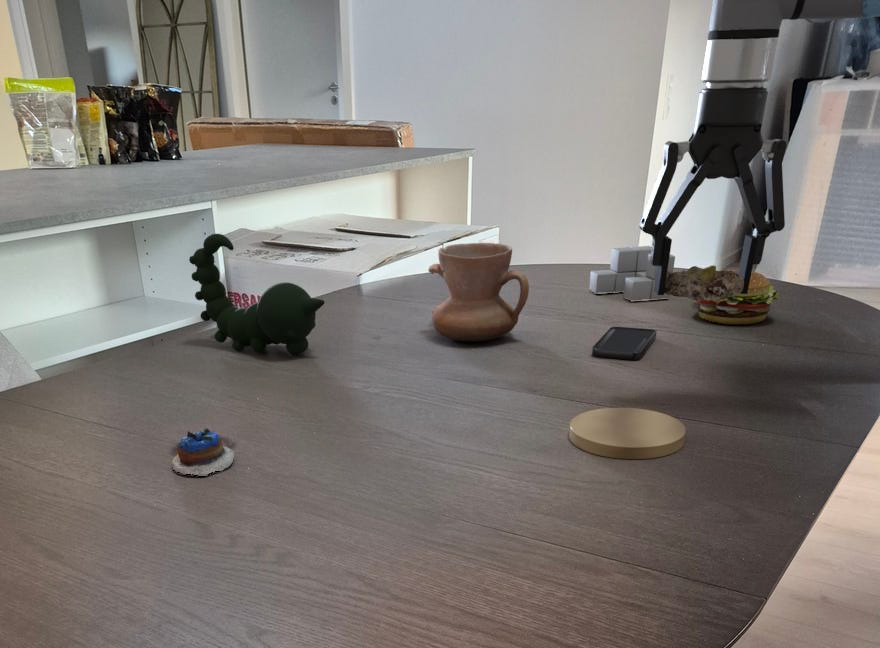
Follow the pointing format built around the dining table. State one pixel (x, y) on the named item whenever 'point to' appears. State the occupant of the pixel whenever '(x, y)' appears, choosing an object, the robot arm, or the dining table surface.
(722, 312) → the food
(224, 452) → the dessert
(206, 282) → the toy figurine
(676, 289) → the mineral rock
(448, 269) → the ceramic jug
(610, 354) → the phone
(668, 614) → the dining table surface
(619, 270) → the puzzle cube
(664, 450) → the wood disc
